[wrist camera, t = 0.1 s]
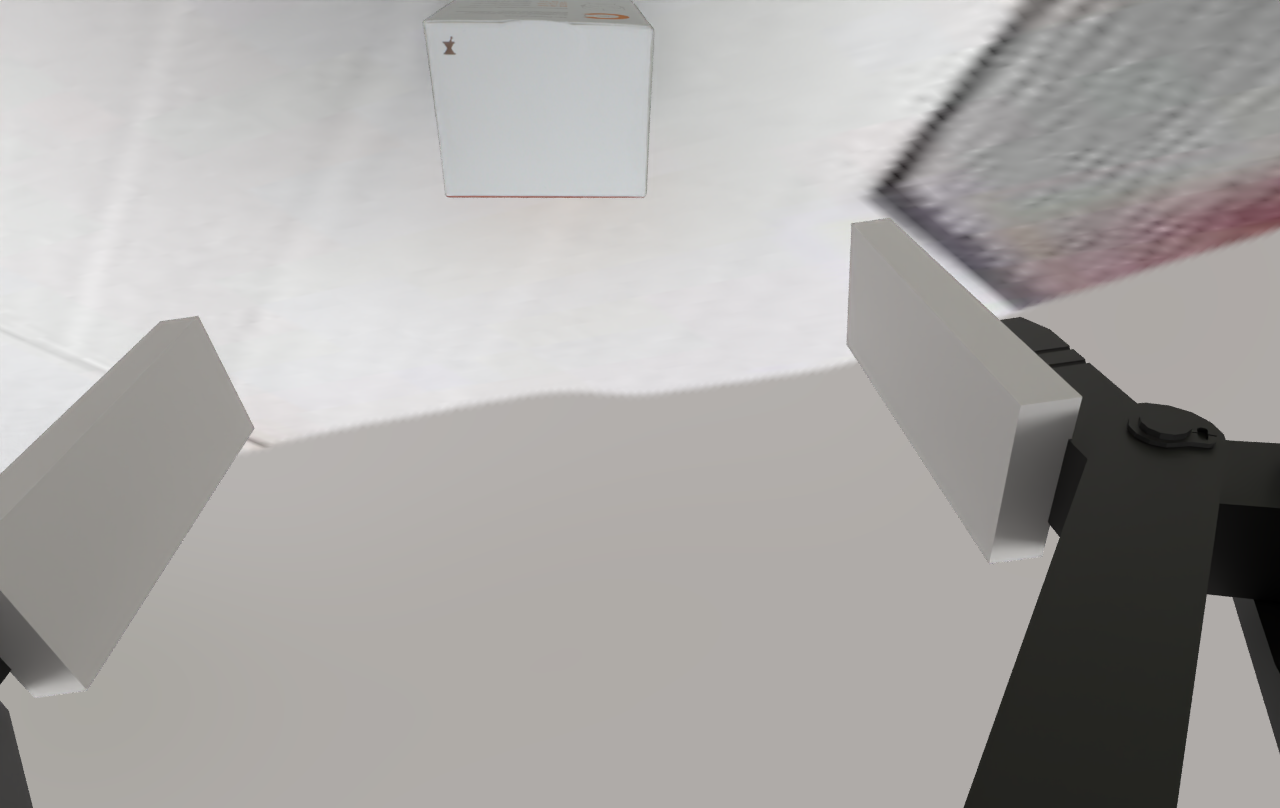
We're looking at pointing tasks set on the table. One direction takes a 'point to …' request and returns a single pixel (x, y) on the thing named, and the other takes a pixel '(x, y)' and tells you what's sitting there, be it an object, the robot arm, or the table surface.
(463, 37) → the small box
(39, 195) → the table surface
